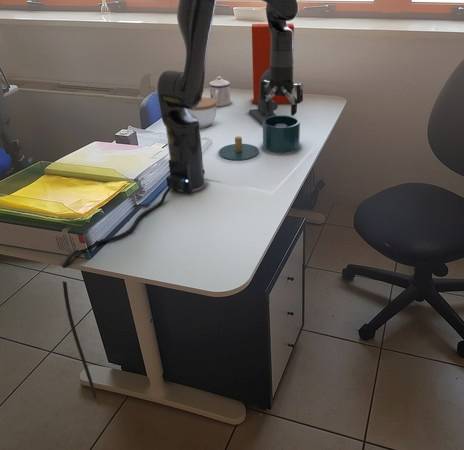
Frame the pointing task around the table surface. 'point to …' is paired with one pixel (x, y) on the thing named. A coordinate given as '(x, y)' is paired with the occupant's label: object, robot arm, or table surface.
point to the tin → (281, 134)
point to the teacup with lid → (220, 91)
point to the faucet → (263, 103)
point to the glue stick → (280, 125)
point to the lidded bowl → (204, 111)
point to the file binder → (263, 58)
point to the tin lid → (238, 151)
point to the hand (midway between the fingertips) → (281, 113)
